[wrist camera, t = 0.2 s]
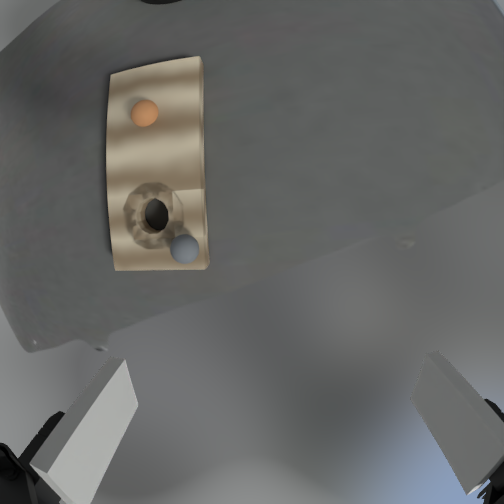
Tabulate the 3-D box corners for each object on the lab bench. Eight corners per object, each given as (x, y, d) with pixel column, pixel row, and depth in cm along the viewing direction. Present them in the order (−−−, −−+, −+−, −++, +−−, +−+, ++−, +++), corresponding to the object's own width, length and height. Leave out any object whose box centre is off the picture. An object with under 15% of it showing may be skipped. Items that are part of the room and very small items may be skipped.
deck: (119, 81, 32) (110, 74, 29) (203, 65, 32) (199, 56, 29) (124, 264, 38) (115, 270, 35) (209, 263, 38) (205, 269, 35)
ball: (137, 106, 30) (126, 99, 27) (162, 101, 30) (153, 93, 27) (137, 131, 31) (125, 125, 28) (162, 127, 31) (152, 120, 28)
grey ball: (173, 232, 34) (164, 237, 30) (200, 231, 34) (194, 236, 30) (176, 260, 34) (167, 267, 31) (202, 259, 34) (196, 267, 31)
